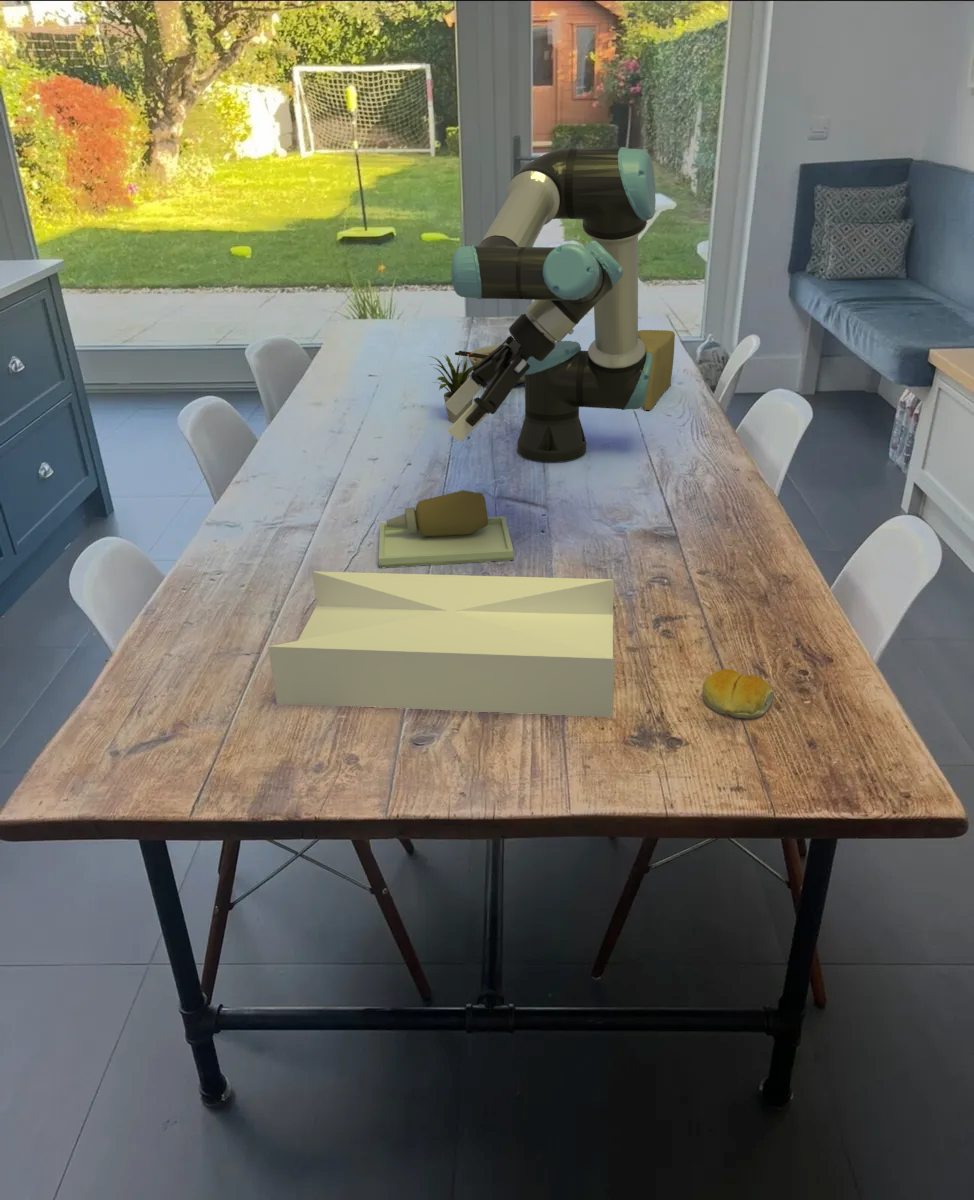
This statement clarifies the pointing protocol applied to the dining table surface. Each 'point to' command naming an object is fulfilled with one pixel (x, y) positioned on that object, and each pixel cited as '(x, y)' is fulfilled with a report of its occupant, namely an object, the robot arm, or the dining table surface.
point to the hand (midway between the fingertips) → (451, 422)
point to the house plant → (454, 384)
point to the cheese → (658, 362)
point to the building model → (453, 644)
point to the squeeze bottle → (445, 515)
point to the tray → (445, 546)
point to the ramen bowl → (483, 356)
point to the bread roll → (737, 694)
